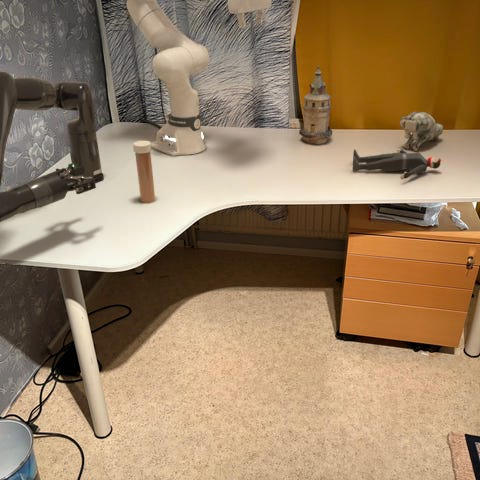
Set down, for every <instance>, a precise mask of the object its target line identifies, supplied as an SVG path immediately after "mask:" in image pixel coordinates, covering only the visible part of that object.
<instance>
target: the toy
mask: <svg viewBox="0 0 480 480" xmlns="http://www.w3.org/2000/svg"><path fill="white" fill-rule="evenodd" d="M352 157H353V158H352V171H353V172H355V173H356V172H358V171H377V170H379V171H393V172H397V171H398V172H399V171H401V170H409V171H404V172H403V174H400V179H401V180H405V179H408V178H410V177H411V176H413V175H415V174H423V173H425V172H426V171H427V169H428V168H429V169H435V170H436V169H438V168H439V167H440V166H441V162H442V160H441V158H439V157H437V156H430V157H428V158H427V159H426V158H425V157H424V155H423V154H422V153H421V152H410V153H409V152H406V151H405V150H404V149H402V148H401V149H399V148H397V149H396V152H392V153H381V154H376V155H367V156H360V155H359V153H358V151H357V149H355V148H354V149H353V153H352Z"/></svg>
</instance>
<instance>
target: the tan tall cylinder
mask: <svg viewBox="0 0 480 480" xmlns="http://www.w3.org/2000/svg"><path fill="white" fill-rule="evenodd" d="M134 154H135V163H136V164H135V165H136V172H137V181H138V190H139V197H140V202H142V203H145V204H147V203H152V202H153V203H154V202H155V200H156V191H155V183H154V173H153V162H152V154H151V151H150V152H148V153H142V154H140V153H135V152H134Z"/></svg>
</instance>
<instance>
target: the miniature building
mask: <svg viewBox="0 0 480 480" xmlns="http://www.w3.org/2000/svg"><path fill="white" fill-rule="evenodd" d="M320 67H321V66H320V65H317V66H316V68H317V69H316V71H315V72H314V75H315V76H314V79H313V81H312V83H310V84H309V85H308V86H309V93H307V94H306V95H304V96H303V97H302V98H303V105H301V106H302V109H303V114H302V115H303V124H302V127H300V129H299V132H298V134H299V136H300V137H302V139H303V141H305V142H307V143H309V144H314V145H320V144H321V145H322V144H325V143H326V142H327V141H328V140H329V139H330V137H332V135H333V129H331V125H329V120H330V115H331V108H332V106H333V105H332V104H331V98H332V96H331V95H330V94H328V93H326V81H324V82H323V78H322V71H321V70H320Z"/></svg>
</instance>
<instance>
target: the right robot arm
mask: <svg viewBox="0 0 480 480" xmlns="http://www.w3.org/2000/svg"><path fill="white" fill-rule="evenodd" d="M272 2H273V1H272V0H227V9H228V13H230V14H232V15H236V19H237V21H238V28H239V29H245V28H247V22H246V21H245V18H244V17H245V13H250V12H255V11H256V13H257V15H256V18H255V19H254V21H255V23H254V24H255V25H262V24H263V18H264V15H265V10H266V9H270V8H271V6H272ZM126 9H127V12H128V13H129V15H130V18H131V19H132V21H133V22H134V24H135V26H136V27H137V28H138V30H139V31H140V33H141V34H142V35H143V37H144V38H145V39H146V41H147V42H148V43H149V45H150V46H151V47H153V48H154V49H157V50H159V51H160V52H159V53H156V54H155V55H154V57H153V59H152V63H151V65H152V71H153V73H154V75H155V77H156V78H157V79H159V80H160V81H161V82H162V83H163V85H164V87H165V88H166V90H167V94H168V99H169V106H170V107H169V108H170V109H169V110H170V113H168V114H167V115H165V119H166V120H167V123H166V124H164V125H163V126H162V125H160V124H158V123H156V122H153V121H151V120H147V119H144V118H143V115H142V114H139V119H140V121H142V122H144V123H147V124H151V125H153V126H155V127H157V128H159V129H158V130H157V131H156V134H155V135H156V136H155V137H156V138H155V141H153V142H151V149H154V150H157V151H159V152H161V153H164V154H167V155H169V156H174V157H175V156H176V157H177V156H182V155H183V156H186V155H194V154H199V153H201V152H204V151H205V149H206V145H205V142H204V134H203V131H202V127H201V126H202V115H201V112H200V100H199V99H200V98H199V97H200V95H199V92H198V91H197V90H196V89H195V88H194V87H192V86H191V83H190V77H191V76H194V75H197V74H199V73H201V72H203V71H204V70H205V69H207V68H208V66H209V64H210V53H209V51H208V50H207V48H206V47H205V46H204V45H202V44H200V43H198V42H195V41H194V40H192V39H191V38H189V37H188V36H187V35H186V34H184V33H183V32H182V31H180V29H178V28H177V27H176V26H175V25H174V23H173V22H172V21H171V19H170V18H169V17H168V16H167V14H166V13H165V12H164V10H163V9H162V8H161V7H160V5H159V4H158V2H157V0H126Z"/></svg>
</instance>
